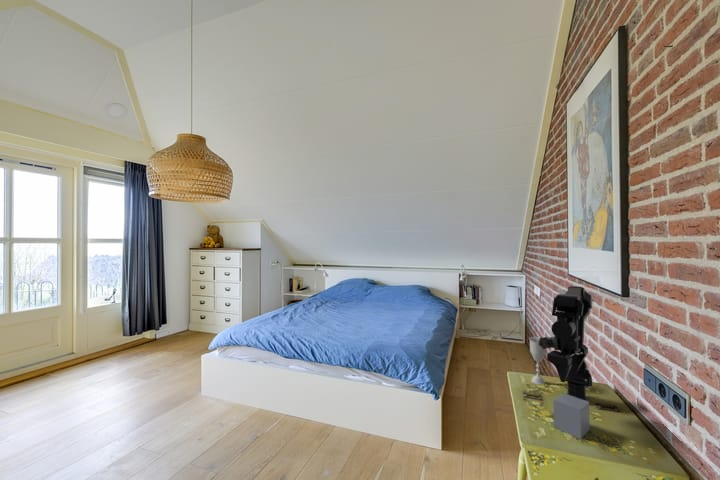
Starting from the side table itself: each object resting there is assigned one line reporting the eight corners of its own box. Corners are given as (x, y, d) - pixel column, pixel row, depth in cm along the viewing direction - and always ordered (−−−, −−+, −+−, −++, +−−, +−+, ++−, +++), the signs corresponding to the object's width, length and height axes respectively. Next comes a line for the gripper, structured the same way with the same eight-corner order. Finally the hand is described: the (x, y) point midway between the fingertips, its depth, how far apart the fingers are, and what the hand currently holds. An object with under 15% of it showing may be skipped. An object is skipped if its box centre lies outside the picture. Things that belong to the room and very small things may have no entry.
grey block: (563, 419, 104) (563, 392, 104) (589, 429, 98) (589, 401, 98) (553, 427, 100) (553, 399, 100) (580, 438, 94) (580, 409, 94)
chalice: (550, 386, 127) (550, 342, 127) (532, 385, 129) (531, 341, 129) (543, 378, 135) (543, 337, 135) (526, 377, 136) (526, 336, 136)
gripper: (553, 322, 118) (553, 364, 118) (530, 331, 107) (530, 377, 107) (588, 329, 109) (588, 374, 109) (566, 339, 98) (567, 389, 98)
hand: (568, 378), depth 106 cm, fingers open, 9 cm apart
